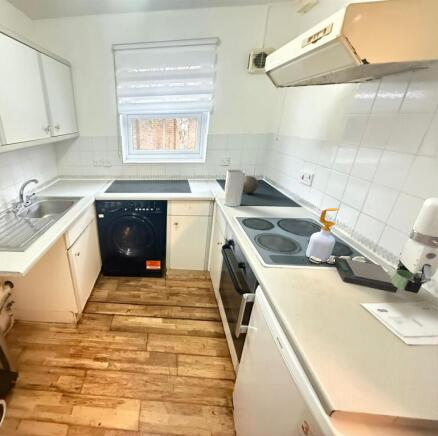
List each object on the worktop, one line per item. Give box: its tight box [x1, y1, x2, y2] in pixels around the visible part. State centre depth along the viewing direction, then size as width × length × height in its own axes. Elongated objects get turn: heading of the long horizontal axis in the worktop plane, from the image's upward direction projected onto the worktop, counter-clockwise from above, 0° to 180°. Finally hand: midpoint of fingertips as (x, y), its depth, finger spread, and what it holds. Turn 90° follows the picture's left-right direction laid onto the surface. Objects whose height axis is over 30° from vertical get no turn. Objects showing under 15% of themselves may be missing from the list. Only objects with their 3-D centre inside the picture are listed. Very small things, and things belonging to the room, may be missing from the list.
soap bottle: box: [305, 207, 339, 263], centre depth 106 cm, size 9×9×25 cm
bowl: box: [391, 269, 421, 292], centre depth 79 cm, size 6×6×5 cm
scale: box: [333, 256, 399, 294], centre depth 97 cm, size 16×16×3 cm
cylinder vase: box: [222, 169, 246, 208], centre depth 175 cm, size 12×12×25 cm
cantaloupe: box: [242, 175, 259, 195], centre depth 202 cm, size 14×14×15 cm
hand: (405, 284), depth 80 cm, fingers closed on bowl, 6 cm apart
